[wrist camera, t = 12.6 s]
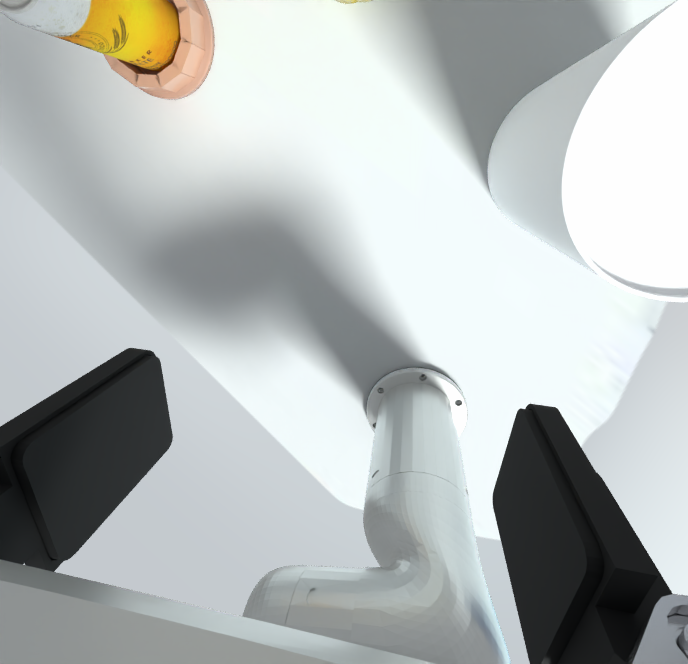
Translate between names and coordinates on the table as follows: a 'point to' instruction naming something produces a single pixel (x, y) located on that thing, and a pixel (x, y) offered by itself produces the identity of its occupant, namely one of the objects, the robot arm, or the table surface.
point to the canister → (607, 159)
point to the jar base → (178, 56)
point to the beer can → (107, 26)
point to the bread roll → (352, 1)
